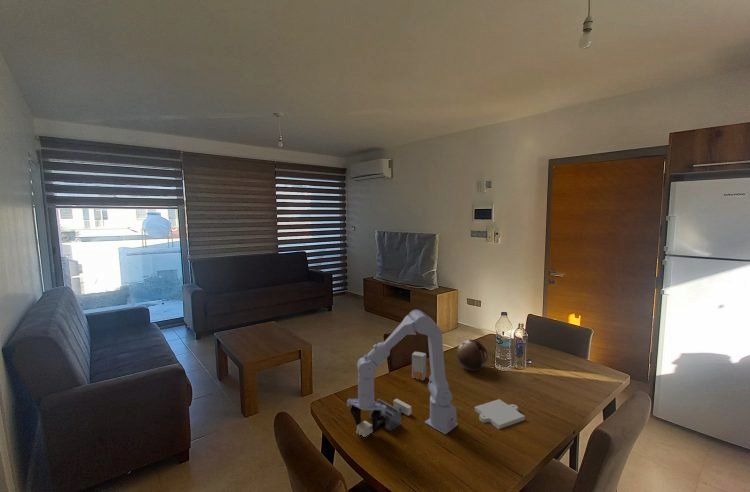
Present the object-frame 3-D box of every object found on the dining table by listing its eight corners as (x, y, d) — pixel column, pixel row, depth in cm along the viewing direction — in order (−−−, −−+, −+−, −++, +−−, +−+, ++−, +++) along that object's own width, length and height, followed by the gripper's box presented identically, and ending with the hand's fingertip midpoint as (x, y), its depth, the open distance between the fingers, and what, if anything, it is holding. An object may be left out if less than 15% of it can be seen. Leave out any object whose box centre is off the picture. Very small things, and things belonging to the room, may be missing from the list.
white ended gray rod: (411, 413, 130) (411, 406, 130) (365, 442, 114) (365, 434, 114) (396, 405, 136) (396, 398, 136) (350, 432, 120) (350, 424, 119)
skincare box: (411, 378, 159) (411, 354, 158) (414, 374, 163) (414, 351, 162) (423, 381, 157) (423, 356, 155) (426, 377, 160) (426, 353, 159)
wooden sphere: (451, 365, 173) (451, 337, 172) (475, 360, 177) (476, 333, 176) (467, 378, 159) (467, 348, 157) (493, 373, 163) (494, 343, 162)
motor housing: (401, 424, 124) (400, 408, 123) (389, 431, 120) (389, 415, 119) (380, 412, 132) (380, 397, 131) (369, 418, 128) (369, 403, 127)
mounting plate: (493, 432, 120) (493, 427, 120) (469, 412, 132) (469, 408, 131) (529, 419, 127) (529, 414, 127) (503, 402, 139) (503, 397, 139)
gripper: (388, 389, 120) (389, 425, 121) (352, 383, 125) (352, 417, 126) (382, 399, 113) (382, 437, 114) (344, 392, 118) (344, 428, 119)
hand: (366, 427), depth 120 cm, fingers open, 5 cm apart
